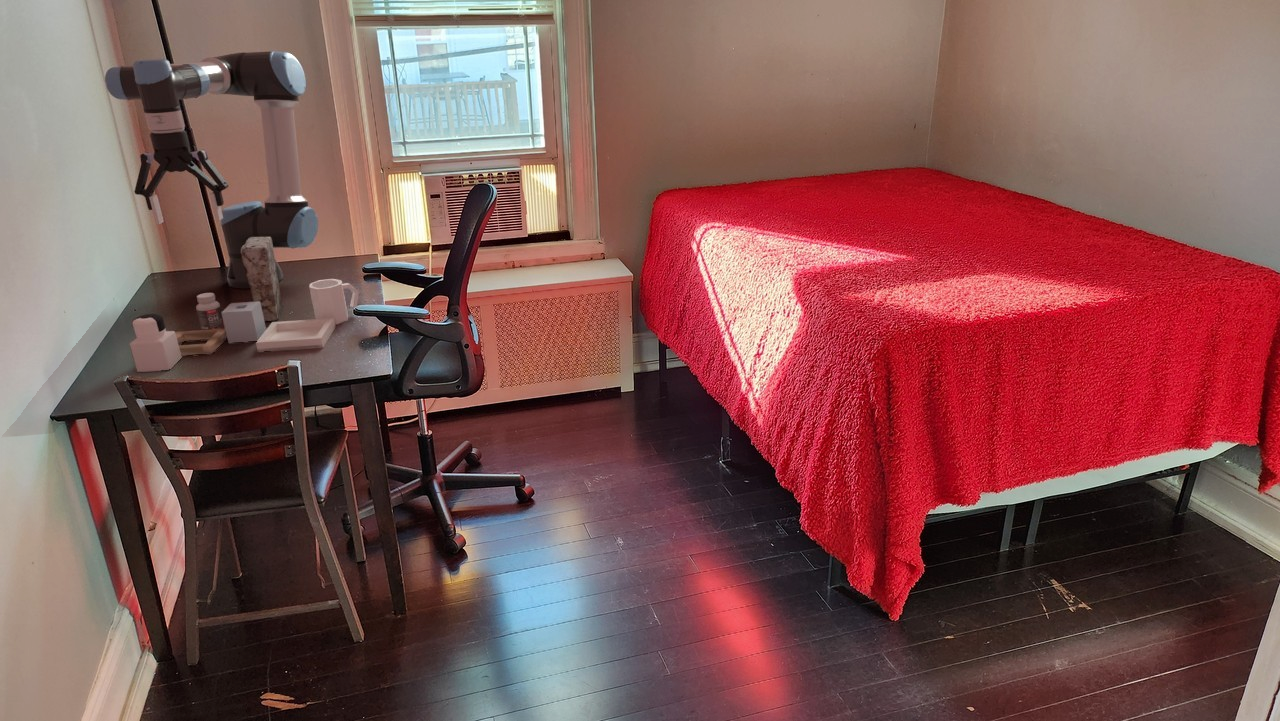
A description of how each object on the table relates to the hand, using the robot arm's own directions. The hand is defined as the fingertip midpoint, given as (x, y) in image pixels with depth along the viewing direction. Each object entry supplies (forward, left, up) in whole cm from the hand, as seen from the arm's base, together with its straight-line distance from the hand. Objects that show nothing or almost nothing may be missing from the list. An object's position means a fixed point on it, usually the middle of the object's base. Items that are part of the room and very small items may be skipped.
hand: (190, 221), depth 201 cm
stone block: (-11, +10, -29) cm, 32 cm away
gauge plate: (+10, -2, -28) cm, 30 cm away
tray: (+10, +22, -28) cm, 37 cm away
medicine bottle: (+21, -6, -29) cm, 36 cm away
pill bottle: (0, -1, -29) cm, 29 cm away
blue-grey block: (+6, +9, -28) cm, 30 cm away
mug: (-4, +29, -29) cm, 41 cm away
